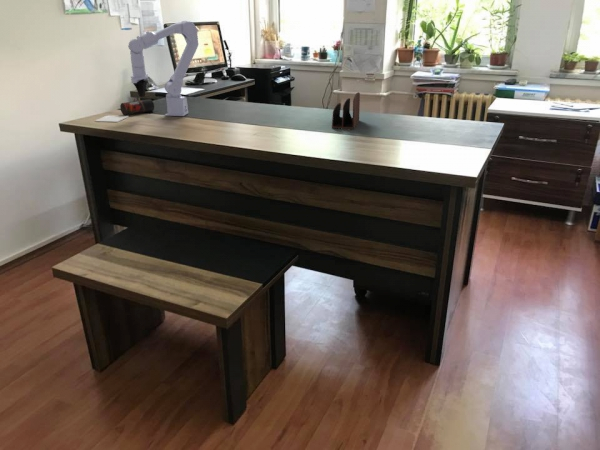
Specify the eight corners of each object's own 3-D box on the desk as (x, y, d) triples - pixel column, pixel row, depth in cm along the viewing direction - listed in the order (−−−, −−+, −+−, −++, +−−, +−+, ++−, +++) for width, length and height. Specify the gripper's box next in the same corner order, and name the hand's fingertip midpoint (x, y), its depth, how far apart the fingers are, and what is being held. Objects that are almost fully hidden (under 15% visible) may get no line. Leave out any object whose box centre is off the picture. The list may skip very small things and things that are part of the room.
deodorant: (124, 117, 243) (151, 113, 253) (127, 111, 238) (155, 107, 248) (119, 106, 243) (146, 103, 253) (122, 100, 239) (150, 97, 249)
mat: (128, 116, 239) (128, 116, 239) (117, 122, 228) (117, 121, 228) (107, 116, 240) (107, 115, 240) (94, 121, 229) (94, 120, 229)
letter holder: (359, 120, 235) (360, 90, 229) (353, 130, 217) (355, 97, 212) (338, 119, 237) (339, 89, 231) (331, 128, 219) (332, 96, 214)
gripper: (136, 64, 236) (140, 93, 242) (123, 68, 223) (127, 99, 229) (150, 65, 236) (154, 94, 241) (138, 68, 223) (142, 99, 228)
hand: (142, 96), depth 235 cm, fingers closed
